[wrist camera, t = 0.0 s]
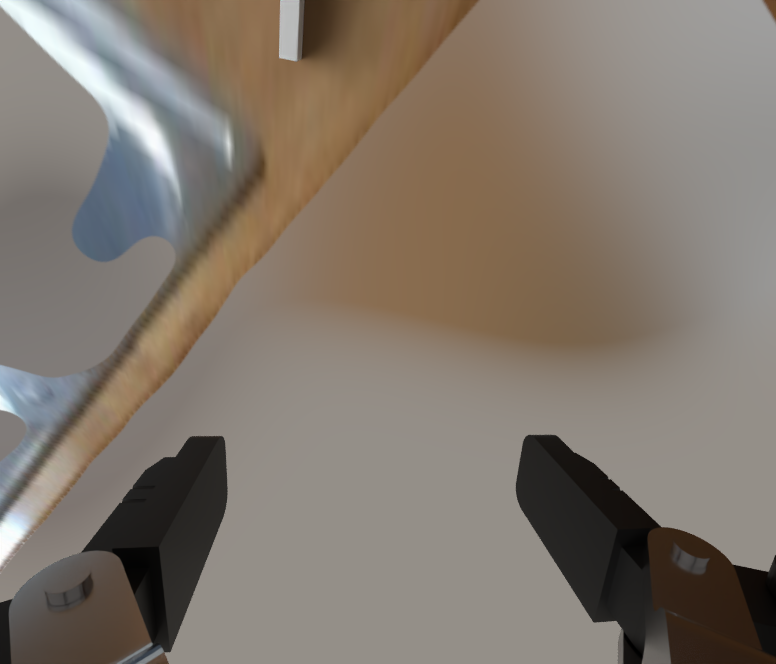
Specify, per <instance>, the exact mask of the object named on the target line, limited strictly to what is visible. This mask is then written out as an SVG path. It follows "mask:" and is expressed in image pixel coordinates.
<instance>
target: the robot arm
mask: <svg viewBox="0 0 776 664" xmlns="http://www.w3.org/2000/svg"><path fill="white" fill-rule="evenodd" d="M226 470H227V469H226V450H225V440H224V438H223V437H222V436H196V437H195V436H192V437H190V438H189V439H188V440H187V441H186V443H185V444H184V446H183V447H182V449H181V450H180V451H179V453H178V454H177V456H176V457H165V458H163V459H161V460H160V461H159V462H157V463H156V464H154V465H153V466H151V467H150V468H148V469H147V470H145V472H144V473H143V474H142V475H141V477H140V478H139V479H138V480H137V482H136V483H135V484H134V485H133V489H131V490H130V491H129V492H128V493H127V494H126V496H125V497H124V498H123V501H122V503H119V505H118V506H117V507H116V509H115V510H114V511H113V512H112V514H111V515H110V516H109V517H108V519H107V520H106V521H105V523H104V524H103V525H102V526H101V528H100V529H99V530H98V532H97V533H96V534H95V535H94V537H93V538H92V540H91V541H90V542H89V543H88V544H87V546H86V547H85V548H84V550H83V551H82V552H81V553H79V554H75V555H72V556H69V557H67V558H63V559H61V560H59V561H57V562H55V563H53V564H51V565H49V566H48V567H46V568H45V569H43V570H41V571H40V572H38V573H37V574H36V575H34V576H33V577H32V578H31V579H29V580H28V581H27V582H26V583H25V584H24V585H23V586H22V587H21V588H20V590H19V591H18V592H17V593H16V595H15V596H14V598H13V599H11V600H8V601H4V602H1V603H0V664H169V663H168V661H167V658H166V656H165V653H164V652H171V649H172V646H173V644H174V641H175V639H176V636H177V634H178V631H179V629H180V626H181V624H182V621H183V619H184V616H185V613H186V611H187V608H188V606H189V603H190V601H191V598H192V596H193V593H194V591H195V588H196V585H197V583H198V580H199V578H200V575H201V572H202V570H203V567H204V565H205V562H206V560H207V557H208V555H209V552H210V550H211V547H212V544H213V542H214V539H215V537H216V534H217V532H218V529H219V527H220V524H221V522H222V519H223V516H224V513H225V509H226V503H227V471H226ZM516 494H517V500H518V502H519V505H520V507H521V509H522V511H523V512H524V514H525V516H526V517H527V518H528V520H529V522H530V523H531V525H532V527H533V528H534V530H535V531H536V533H537V534H538V536H539V537H540V539H541V541H542V542H543V544H544V545H545V547H546V549H547V550H548V552H549V553H550V555H551V556H552V558H553V559H554V561H555V563H556V564H557V566H558V567H559V569H560V570H561V572H562V574H563V575H564V577H565V578H566V580H567V581H568V583H569V585H570V586H571V588H572V589H573V591H574V592H575V594H576V596H577V597H578V599H579V600H580V602H581V603H582V605H583V607H584V608H585V610H586V611H587V613H588V614H589V616H590V618H591V619H592V621H593V622H606V621H617V622H618V624H619V625H620V627H621V628H622V629H621V632H620V636H619V641H618V664H776V555H775V557H774V560H773V563H772V565H771V568H770V570H769V572H766V571H761V570H756V569H752V568H747V567H741V566H736V565H732V563H731V562H730V561H729V560H728V558H727V557H726V556H725V555H724V554H722V553H721V552H720V551H719V550H718V549H716V548H715V547H714V546H712V545H711V544H709V543H708V542H706V541H704V540H703V539H701V538H699V537H696V536H695V535H692V534H690V533H687V532H685V531H681V530H678V529H674V528H665V527H661V526H660V525H659V524H658V523H656V522H655V521H654V520H653V519H652V518H651V517H650V516H649V515H648V514H647V513H646V512H645V511H644V510H643V509H642V508H641V507H639V506H638V505H637V504H636V503H635V502H634V501H633V500H632V499H631V498H630V497H629V496H628V495H627V494H626V493H625V492H623V491H620V488H619V487H618V486H617V485H616V484H615V483H614V482H613V481H612V480H611V479H610V480H609V479H608V476H607V475H606V474H604V473H603V472H602V471H601V470H600V469H599V468H598V467H597V466H596V465H595V464H594V463H592V462H590V461H589V460H587V459H585V458H584V457H582V456H580V455H578V454H577V453H574V452H573V451H572V450H571V449H570V448H569V447H568V446H567V445H566V444H565V443H564V442H563V441H562V440H561V439H560V438H559V437H557V436H556V435H528V436H526V437H525V439H524V441H523V446H522V452H521V458H520V463H519V469H518V475H517V481H516Z"/></svg>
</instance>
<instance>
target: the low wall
mask: <svg viewBox="0 0 776 664" xmlns="http://www.w3.org/2000/svg"><path fill="white" fill-rule="evenodd" d="M304 3H305V0H280V41H279V58H283V59H288V60H292V61H299V60H301V59H302V43H303V23H304Z"/></svg>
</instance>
